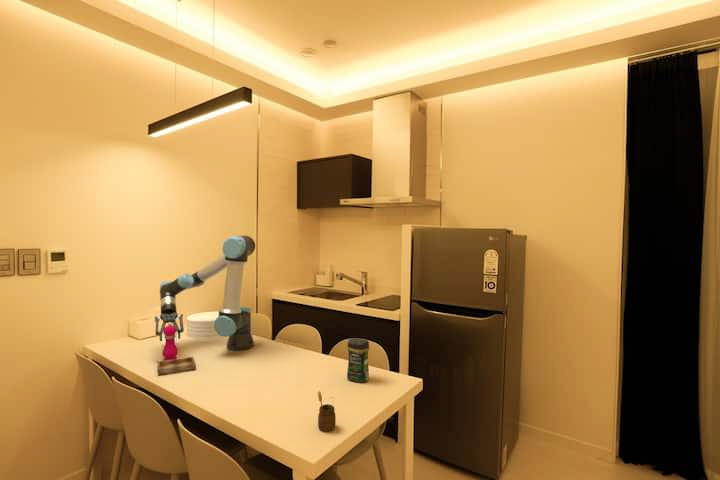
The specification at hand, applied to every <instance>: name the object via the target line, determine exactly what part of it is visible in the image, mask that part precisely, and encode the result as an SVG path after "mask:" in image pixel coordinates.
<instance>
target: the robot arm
mask: <svg viewBox="0 0 720 480" xmlns="http://www.w3.org/2000/svg"><path fill="white" fill-rule="evenodd" d="M255 250H256V242H255V240H254V239H253V238H252V237H251V236H248V235H233V236H229V237H228V238H226V239H225V240H224V242H223V243H222V253H223V254H222V255H220V256H218V257H217V258H215V259H214V260H212V261H211V262H209V263H207V264H206V265H204V266H203V267H202V268H200V269H198V270H197V271H196V272H194V273H192V274H189V273H184V274H182V275H180V276H179V277H177V278H176V279H174V280H173V281H170V280H167V281H163V282H161V284H160V286H159V294H160V295H159V297H160V299H159V300H160V301H159V302H160V315H159V316H154V321H155V336H158V337H159V341H160V342H162V346H161V347H162V348H164V346H165V334H164V332H163V331H164V328H165V327H166V326H167V325H166V324H168V323H170V322H171V323H172V325H173V326H175V327H176V333H175V341H176V342H175V345H176V346H179V339H181V333H184V330H185V328H184V320H183V318H184V315H183V313H181V314H178V312H177V300H176V296H178V295H180V293H182V292H184V291H186V290H190V289H194V288H198V287H201V286H203V285H204V284H205V282H207V281H208V280H210V279H211V278H213V277H215V276H216V275H218V274H219V273H220V272H221V273H222V271H223V270H225V269H226V273H225V281H224V283H225V284H224V291H223V299H222V306H221V308H219V310H218V312H219V316H218V317H217V318H216V320H215V321H214V329H215V331H216V332H217V334H219V335H220V336H223V337H224V338H225V337H228V338H227V342H226V349H227V350H230V351H245V350H249V349H251V348H253V347H254V346H255V341H254V337H253V335H252V311H251V308H250V307H249V306H240V302H241V295H242V286H243V285H242V284H243V277H244V276H243V275H244V270H245V269H244V268H245V267H244V266H245V264H246V263H248V257H249V256H251V255H252V254H253V253H254V252H255ZM176 319H178V320H179V325H178V323H177V320H176ZM160 320H161V321H162V324H161V327H160V330H159V322H160ZM223 337H222V338H223Z"/></svg>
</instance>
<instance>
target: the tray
mask: <svg viewBox="0 0 720 480" xmlns="http://www.w3.org/2000/svg"><path fill="white" fill-rule="evenodd" d="M196 367H197V364H196V361H195V358H194V356H189V357H188V356H187V357H182V358H177V359H174V360H167V361H163V360H162V361H161V360H160V361H157V376H158V377H160V376H161V377H162V376H166V375H174V374H179V373H185V372H192V371H196V369H197V368H196Z"/></svg>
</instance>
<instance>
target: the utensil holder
mask: <svg viewBox="0 0 720 480" xmlns="http://www.w3.org/2000/svg"><path fill="white" fill-rule="evenodd" d="M317 397H318V401H319V403H320V406H319V409H318V416H317V417H318V418H317V419H318V421H317V424H318V425H317V427H318V430H319V431H321V432H331V431H333V430H334V429H335V428H336V425H337V424H336V420H337V419H336V412H335V410H336V409H335V404H334V403H335V398H334V397H333V396H330V397H328V400H330V401H331V400H332V401H331V404H330V403H327V404H323V402H322V400H323V398H322V393H321V391H319V392H317Z"/></svg>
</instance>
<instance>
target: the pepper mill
mask: <svg viewBox="0 0 720 480" xmlns="http://www.w3.org/2000/svg"><path fill="white" fill-rule="evenodd" d="M176 332H177V331H176V327H175V326H174V325H173V324H172V322H169V323H167V325H165V328H164V331H163V333H164V340H165V342H164V347H163V349H162V357H163V358H162V361H167V360H174V359H178V355H179V354H178V353H179V349H178V347H177V344H176V342H175V341H176Z"/></svg>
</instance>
